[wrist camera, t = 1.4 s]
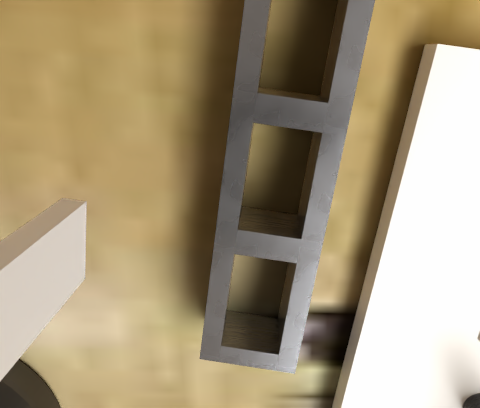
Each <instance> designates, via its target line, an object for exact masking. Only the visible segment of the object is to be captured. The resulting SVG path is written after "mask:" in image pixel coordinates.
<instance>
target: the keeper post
mask: <svg viewBox="0 0 480 408" xmlns="http://www.w3.org/2000/svg"><path fill="white" fill-rule="evenodd" d="M463 408H480V393H478V394H474V395H472V396H470V397H468V398H467V399H466V400H465V402H464V404H463Z"/></svg>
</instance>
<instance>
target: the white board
mask: <svg viewBox="0 0 480 408" xmlns="http://www.w3.org/2000/svg"><path fill="white" fill-rule="evenodd" d="M479 332H480V50H478V49H471V48H464V47H457V46H450V45H443V44H425V46H424V50H423V54H422V58H421V62H420V65H419V69H418V73H417V77H416V81H415V85H414V89H413V93H412V97H411V101H410V104H409V108H408V112H407V116H406V120H405V124H404V128H403V132H402V136H401V140H400V143H399V147H398V151H397V155H396V159H395V163H394V167H393V171H392V175H391V179H390V182H389V186H388V190H387V194H386V198H385V202H384V206H383V210H382V214H381V218H380V221H379V225H378V229H377V233H376V237H375V241H374V245H373V249H372V253H371V257H370V260H369V264H368V268H367V272H366V276H365V280H364V284H363V288H362V292H361V296H360V299H359V303H358V307H357V311H356V315H355V319H354V323H353V327H352V331H351V335H350V338H349V342H348V346H347V350H346V354H345V358H344V362H343V366H342V370H341V374H340V377H339V381H338V385H337V389H336V393H335V397H334V401H333V405H332V408H463V404H464V402H465V400H466V399H467V398H468V397H470V396H472V395H474V394H478V393H480V341H479V340H478V339H477V337H478V335H479Z"/></svg>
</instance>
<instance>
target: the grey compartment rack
mask: <svg viewBox="0 0 480 408" xmlns="http://www.w3.org/2000/svg"><path fill="white" fill-rule="evenodd" d="M271 1H272V0H245V2H244V10H243V18H242V26H241V34H240V42H239V50H238V58H237V66H236V74H235V82H234V90H233V98H232V106H231V114H230V122H229V130H228V137H227V145H226V153H225V161H224V169H223V177H222V185H221V193H220V201H219V209H218V217H217V225H216V233H215V241H214V249H213V257H212V265H211V273H210V281H209V288H208V296H207V304H206V312H205V320H204V328H203V336H202V344H201V352H200V359H203V360H210V361H216V362H223V363H229V364H236V365H242V366H249V367H255V368H261V369H268V370H274V371H281V372H287V373H294V374H295V371H296V366H297V361H298V357H299V352H300V347H301V343H302V338H303V333H304V329H305V324H306V319H307V315H308V310H309V305H310V301H311V296H312V291H313V287H314V282H315V277H316V273H317V268H318V263H319V259H320V254H321V249H322V245H323V240H324V235H325V231H326V226H327V221H328V217H329V212H330V208H331V203H332V198H333V194H334V189H335V184H336V180H337V175H338V170H339V166H340V161H341V156H342V152H343V147H344V142H345V138H346V133H347V128H348V124H349V119H350V114H351V110H352V105H353V100H354V96H355V91H356V86H357V82H358V77H359V72H360V68H361V63H362V58H363V54H364V49H365V44H366V40H367V35H368V30H369V26H370V21H371V16H372V12H373V7H374V3H375V0H338V3H337V8H336V13H335V19H334V24H333V29H332V34H331V40H330V45H329V50H328V56H327V61H326V66H325V71H324V77H323V82H322V87H321V93H320V96H318V95H311V94H304V93H297V92H290V91H283V90H276V89H269V88H262V87H259V84H260V77H261V70H262V63H263V56H264V49H265V42H266V36H267V29H268V22H269V15H270V8H271ZM254 123H259V124H266V125H273V126H280V127H287V128H294V129H300V130H307V131H313V135H312V140H311V145H310V151H309V156H308V161H307V166H306V172H305V177H304V182H303V188H302V193H301V198H300V203H299V209H298V214H290V213H284V212H277V211H270V210H263V209H257V208H250V207H243V206H242V202H243V195H244V188H245V181H246V174H247V167H248V160H249V153H250V147H251V140H252V133H253V126H254ZM235 254H238V255H245V256H251V257H258V258H265V259H271V260H278V261H284V262H288V267H287V272H286V277H285V283H284V288H283V293H282V298H281V304H280V309H279V314H278V318H274V317H268V316H261V315H255V314H248V313H242V312H235V311H229V310H227V306H228V299H229V292H230V285H231V278H232V271H233V264H234V258H235Z"/></svg>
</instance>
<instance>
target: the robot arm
mask: <svg viewBox="0 0 480 408" xmlns="http://www.w3.org/2000/svg"><path fill="white" fill-rule="evenodd" d="M86 204H87V201H80V200H74V199H67V198H62V199H60V200H59V201H57V202H56V203H55V204H53V205H52V206H50V207H49V208H47V209H46V210H44V211H43V212H42V213H40V214H39V215H37V216H36V217H34V218H33V219H32V220H30V221H29V222H27V223H26V224H24V225H23V226H21V227H20V228H19V229H17V230H16V231H14V232H13V233H11V234H10V235H8V236H7V237H6V238H4V239H3V240H1V241H0V408H60V406H59V404H58V402H57V400H56V398H55V396H54V395H53V393H52V392H51V390H50V389H49V388H48V386H47V385H46V384H45V383H44V381H43V380H42V379H41V378H40V377H39V376H38V375H37V374H36V373H35V372H34V371H32V370H31V369H30V368H29V367H28V366H26V365H25V364H24V363H22V362H21V361H19V360H18V359H19V358H20V357H21V356H22V355H23V353H24V352H25V351H26V350H27V349H28V347H29V346H30V345H31V344H32V342H33V341H34V340H35V339H36V338H37V336H38V335H39V334H40V333H41V332H42V330H43V329H44V328H45V327H46V325H47V324H48V323H49V322H50V321H51V319H52V318H53V317H54V316H55V315H56V313H57V312H58V311H59V310H60V308H61V307H62V306H63V305H64V304H65V302H66V301H67V300H68V299H69V298H70V296H71V295H72V294H73V293H74V292H75V290H76V289H77V288H78V287H79V285H80V284H81V283H82V282H83V281H84V279H85V259H86ZM477 339H478V340H479V341H480V332H479V335H478V337H477Z"/></svg>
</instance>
